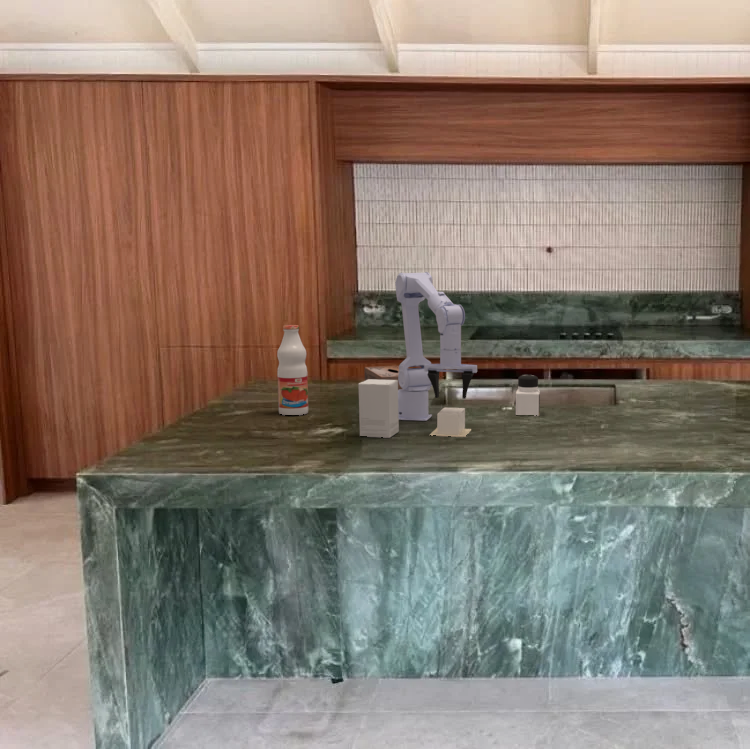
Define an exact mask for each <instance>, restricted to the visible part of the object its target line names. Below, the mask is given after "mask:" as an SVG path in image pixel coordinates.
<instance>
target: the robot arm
mask: <svg viewBox="0 0 750 749" xmlns="http://www.w3.org/2000/svg"><path fill="white" fill-rule="evenodd" d="M395 293H396V294H395V295H396V301H397V302H398V303H400V304H401V312H402V321H403V322H402V323H403V331H404V332H403V333H404V342H405V354H406V358H405V359H404V360H402V362H401V363H400V364H398V366H399V374H398V381H399V385H400V386H401V388H402V389H399V390H398V417H399V421H401V420H402V421H420V422H421V421H423V422H425V421H426V422H427V421H428V420H430V418H431V417H432V416H433V414H429V390H431V387H432V388H433V393H434V398H435V399H438V398H439V397H440V372H441V373H443V372H446V373H449V372H450V373H461V377H462V378H461V380H462V396H461V397H462V399H463V400H465V399H466V398H467V395H468V394H467V393H468V389H469V385H470V384H471V380H472V378H473V376H474V374H477V372H478V365H477V364H467V363H465V364H464V363H462V326H463V325H464V324H465V320H466V312H465V309H464V307H463V306H462V305H461V304H455V303H453V302H452V301H451V299H450V298H449V297H448V296H447V295H446V293H445V292H444V291H438V289H436V287H435V286H434V283H433V276H432V275H431V273H430V272H429V271H424V272H399V273H398V274H397V275H396V279H395ZM425 299H426V300H427V307H428V308H429V309H430V310H431V311H432V312H433V313H434V315H435V320H436V324H437V331H438V333H439V335H440V336H439V338H440V339H439V342H440V343H439V346H440V348H439V353H440V354H439V357H440V358H439V359H440V360H439V363H432V362H431V361H430V360H429V359H427V358H426V357H425V356H424V351H423V342H422V332H421V331H422V330H421V322H420V321H421V320H420V313H419V312H420V311H419V304H420V302H423V301H425Z"/></svg>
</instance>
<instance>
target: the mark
mask: <svg viewBox="0 0 750 749" xmlns="http://www.w3.org/2000/svg"><path fill="white" fill-rule="evenodd" d="M471 431H472V428H465V429H464V430H463V431H462V432H461V433H460V435H441V434H437V427H436V428H435V429H434V430H433V431H432V432H431V433H430V434H429V437H430V435H431V436H433V435H436V436H435V437H448V436H451V437H450V438H452V437H453V438H455V437H456V438H466V437H467V436H468V435H469V434H470V432H471ZM467 434H468V435H467ZM466 435H467V436H466ZM433 437H434V436H433Z"/></svg>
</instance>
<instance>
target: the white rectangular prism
mask: <svg viewBox="0 0 750 749" xmlns="http://www.w3.org/2000/svg"><path fill="white" fill-rule="evenodd" d="M436 414H437V415H436V416H437V417H436V418H437V419H436V420H437V421H436V422H437V424H436V425H437V427H436V428H437V434H441V435H460V433H461V432H462V431H463V430H464V429H466V408H465V407H443V408H442V409H441V410H440V411H439V412H438V413H436Z"/></svg>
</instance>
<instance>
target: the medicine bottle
mask: <svg viewBox="0 0 750 749" xmlns="http://www.w3.org/2000/svg"><path fill="white" fill-rule="evenodd" d="M517 383H518V384H517V390H515V391H516V392H515V416H516V415H534V416H533V417H539V416H540V411H541V409H540V407H541V406H540V403H541V402H540V401H541V399H540V398H541V391H540V389H539V378H538V376H536V375H532V374H522V375H519V376H518V378H517ZM536 415H537V416H536Z"/></svg>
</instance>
